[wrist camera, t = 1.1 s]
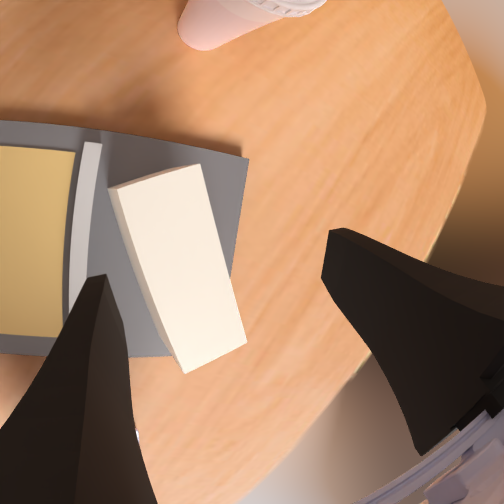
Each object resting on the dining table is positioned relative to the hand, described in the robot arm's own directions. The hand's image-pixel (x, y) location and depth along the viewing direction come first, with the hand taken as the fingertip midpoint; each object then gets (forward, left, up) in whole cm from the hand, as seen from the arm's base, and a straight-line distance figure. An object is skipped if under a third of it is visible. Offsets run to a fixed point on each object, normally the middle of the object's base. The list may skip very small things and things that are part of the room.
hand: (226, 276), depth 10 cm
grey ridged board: (-1, +8, -11) cm, 14 cm away
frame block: (-1, -1, -10) cm, 11 cm away
